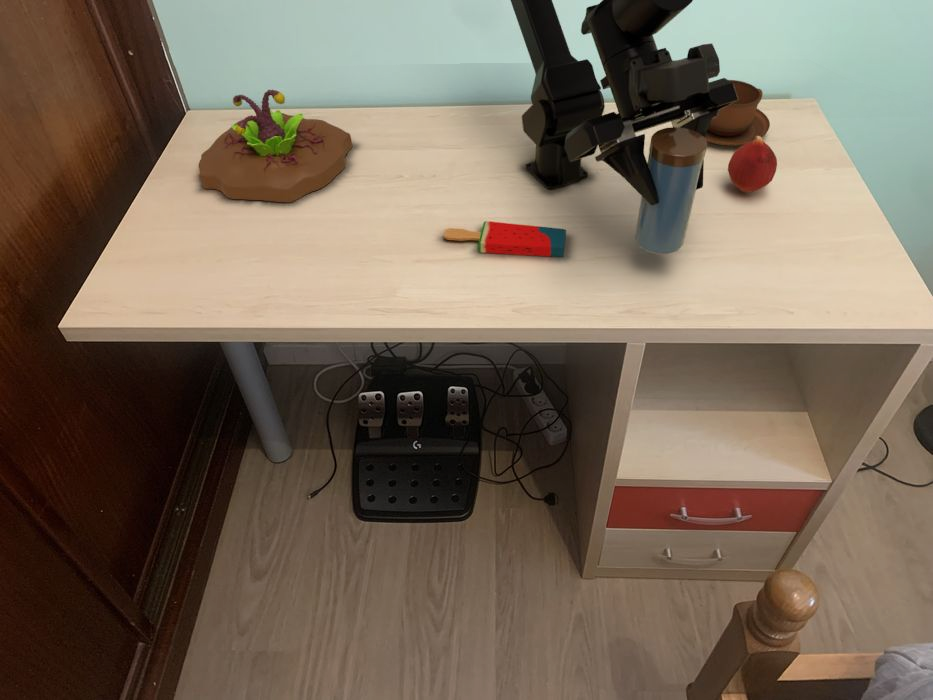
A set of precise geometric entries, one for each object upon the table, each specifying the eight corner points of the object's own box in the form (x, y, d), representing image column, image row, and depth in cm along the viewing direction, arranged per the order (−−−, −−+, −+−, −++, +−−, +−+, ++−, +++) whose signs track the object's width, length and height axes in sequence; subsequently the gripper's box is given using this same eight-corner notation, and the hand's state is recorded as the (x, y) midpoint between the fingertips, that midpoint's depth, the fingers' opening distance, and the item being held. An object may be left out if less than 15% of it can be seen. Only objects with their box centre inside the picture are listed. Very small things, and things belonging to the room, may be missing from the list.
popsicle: (447, 217, 93) (566, 226, 91) (447, 227, 94) (565, 236, 92) (440, 239, 89) (563, 249, 87) (441, 249, 91) (563, 259, 88)
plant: (305, 215, 96) (287, 138, 88) (180, 189, 101) (153, 114, 93) (370, 139, 109) (360, 66, 101) (256, 119, 114) (238, 48, 106)
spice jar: (624, 233, 85) (639, 135, 76) (663, 219, 86) (683, 121, 77) (654, 260, 81) (674, 161, 72) (694, 244, 83) (719, 146, 74)
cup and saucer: (706, 103, 114) (714, 64, 109) (780, 127, 108) (792, 88, 103) (666, 135, 107) (673, 95, 103) (742, 162, 102) (754, 122, 97)
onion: (771, 184, 98) (788, 130, 92) (764, 208, 94) (781, 153, 89) (727, 175, 100) (741, 121, 94) (718, 198, 96) (732, 143, 90)
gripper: (590, 41, 66) (646, 205, 68) (749, -2, 72) (798, 150, 73) (540, 88, 77) (590, 228, 78) (682, 47, 83) (726, 179, 84)
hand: (677, 196), depth 78 cm, fingers closed on spice jar, 5 cm apart
